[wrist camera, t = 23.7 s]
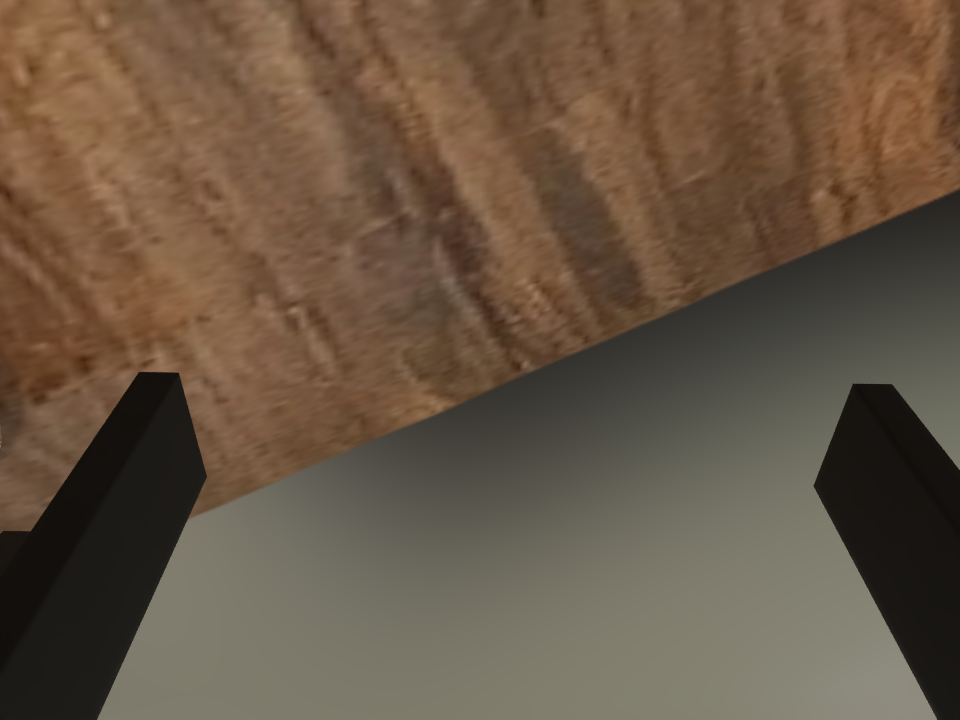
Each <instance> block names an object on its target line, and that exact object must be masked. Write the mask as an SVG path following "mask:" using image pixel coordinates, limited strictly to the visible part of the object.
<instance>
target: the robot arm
mask: <svg viewBox="0 0 960 720" xmlns="http://www.w3.org/2000/svg"><path fill="white" fill-rule="evenodd" d="M206 477H207V475H206V472H205V468H204V464H203V461H202V457H201V453H200V450H199V446H198V442H197V438H196V435H195V431H194V427H193V424H192V420H191V416H190V413H189V409H188V405H187V402H186V398H185V394H184V390H183V387H182V383H181V379H180V376H179V373H166V372H139V373H138V374H137V376H136V377H135V379H134V380H133V382H132V383H131V385H130V386H129V388H128V389H127V391H126V392H125V394H124V395H123V397H122V398H121V399H120V401H119V402H118V404H117V405H116V407H115V408H114V410H113V411H112V413H111V414H110V416H109V417H108V419H107V420H106V422H105V423H104V425H103V426H102V427H101V429H100V430H99V432H98V433H97V435H96V436H95V438H94V439H93V441H92V442H91V444H90V445H89V447H88V448H87V450H86V451H85V452H84V454H83V455H82V457H81V458H80V460H79V461H78V463H77V464H76V466H75V467H74V469H73V470H72V472H71V473H70V475H69V476H68V478H67V479H66V480H65V482H64V483H63V485H62V486H61V488H60V489H59V491H58V492H57V494H56V495H55V497H54V498H53V500H52V501H51V503H50V504H49V505H48V507H47V508H46V510H45V511H44V513H43V514H42V516H41V517H40V519H39V520H38V522H37V523H36V525H35V526H34V528H33V529H32V531H31V532H30V531H3V532H2V533H1V534H0V720H97V718H98V716H99V714H100V712H101V710H102V707H103V705H104V703H105V701H106V699H107V696H108V694H109V692H110V690H111V687H112V685H113V683H114V681H115V679H116V676H117V674H118V672H119V670H120V668H121V665H122V663H123V661H124V659H125V657H126V654H127V652H128V650H129V647H130V645H131V643H132V641H133V639H134V637H135V634H136V632H137V630H138V628H139V626H140V623H141V621H142V619H143V617H144V615H145V612H146V610H147V608H148V606H149V603H150V601H151V599H152V597H153V595H154V592H155V590H156V588H157V586H158V584H159V581H160V579H161V577H162V575H163V573H164V570H165V568H166V566H167V564H168V561H169V559H170V557H171V555H172V553H173V550H174V548H175V546H176V544H177V542H178V539H179V537H180V535H181V533H182V530H183V528H184V526H185V524H186V522H187V519H188V517H189V515H190V513H191V511H192V508H193V506H194V504H195V502H196V500H197V497H198V495H199V493H200V491H201V489H202V486H203V484H204V482H205V480H206ZM814 488H815V490H816V492H817V494H818V495H819V497H820V499H821V501H822V503H823V505H824V507H825V509H826V510H827V512H828V514H829V516H830V518H831V520H832V522H833V524H834V525H835V527H836V529H837V531H838V533H839V535H840V537H841V539H842V541H843V542H844V544H845V546H846V548H847V550H848V552H849V554H850V556H851V558H852V559H853V561H854V563H855V565H856V567H857V569H858V571H859V573H860V575H861V576H862V578H863V580H864V582H865V584H866V586H867V588H868V589H869V591H870V593H871V595H872V597H873V599H874V601H875V603H876V604H877V607H878V609H879V610H880V612H881V614H882V616H883V618H884V620H885V622H886V624H887V625H888V627H889V629H890V631H891V633H892V635H893V637H894V638H895V641H896V642H897V644H898V646H899V648H900V650H901V652H902V654H903V655H904V658H905V659H906V661H907V663H908V665H909V667H910V669H911V671H912V673H913V674H914V676H915V678H916V680H917V682H918V684H919V686H920V688H921V689H922V691H923V693H924V695H925V697H926V699H927V701H928V703H929V705H930V706H931V708H932V710H933V712H934V714H935V716H936V718H937V720H960V470H959V469H958V467H957V466H956V465H955V464H954V463H953V461H952V460H951V459H950V457H949V456H948V455H947V453H946V452H945V451H944V450H943V449H942V447H941V446H940V445H939V443H938V442H937V441H936V440H935V438H934V437H933V436H932V434H931V433H930V432H929V431H928V429H927V428H926V427H925V425H924V424H923V423H922V422H921V421H920V419H919V418H918V417H917V415H916V414H915V413H914V411H913V410H912V409H911V408H910V406H909V405H908V404H907V403H906V401H905V400H904V399H903V397H902V396H901V395H900V394H899V393H898V391H897V390H896V389H895V388H894V386H893V385H892V384H853V385H852V388H851V390H850V393H849V396H848V398H847V401H846V403H845V406H844V408H843V411H842V414H841V416H840V419H839V421H838V424H837V427H836V429H835V432H834V435H833V437H832V440H831V442H830V445H829V447H828V450H827V453H826V455H825V458H824V460H823V463H822V465H821V468H820V471H819V473H818V476H817V479H816V481H815V484H814Z"/></svg>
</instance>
